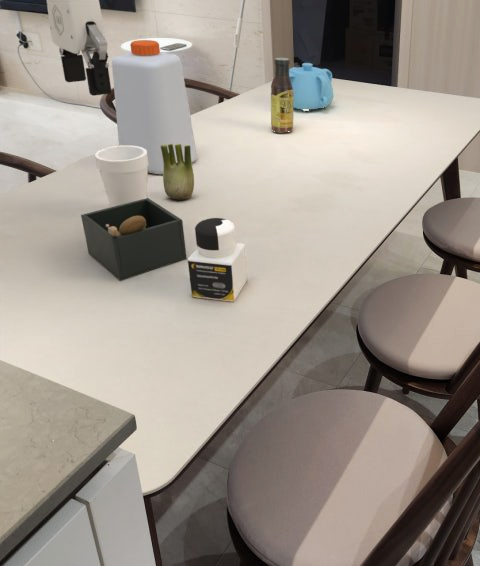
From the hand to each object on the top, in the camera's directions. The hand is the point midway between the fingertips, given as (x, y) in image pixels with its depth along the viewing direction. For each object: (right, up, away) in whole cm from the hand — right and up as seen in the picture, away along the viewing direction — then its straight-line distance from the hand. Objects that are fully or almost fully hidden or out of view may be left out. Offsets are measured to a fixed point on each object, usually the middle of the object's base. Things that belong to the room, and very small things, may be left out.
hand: (88, 87), depth 101 cm
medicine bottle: (+20, -32, +4) cm, 38 cm away
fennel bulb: (+4, -13, +36) cm, 38 cm away
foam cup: (-3, -18, +27) cm, 33 cm away
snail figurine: (+3, -25, +11) cm, 28 cm away
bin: (+3, -26, +12) cm, 29 cm away
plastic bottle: (-6, -2, +53) cm, 54 cm away
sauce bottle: (+20, +12, +80) cm, 84 cm away
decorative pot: (+25, +25, +104) cm, 109 cm away
